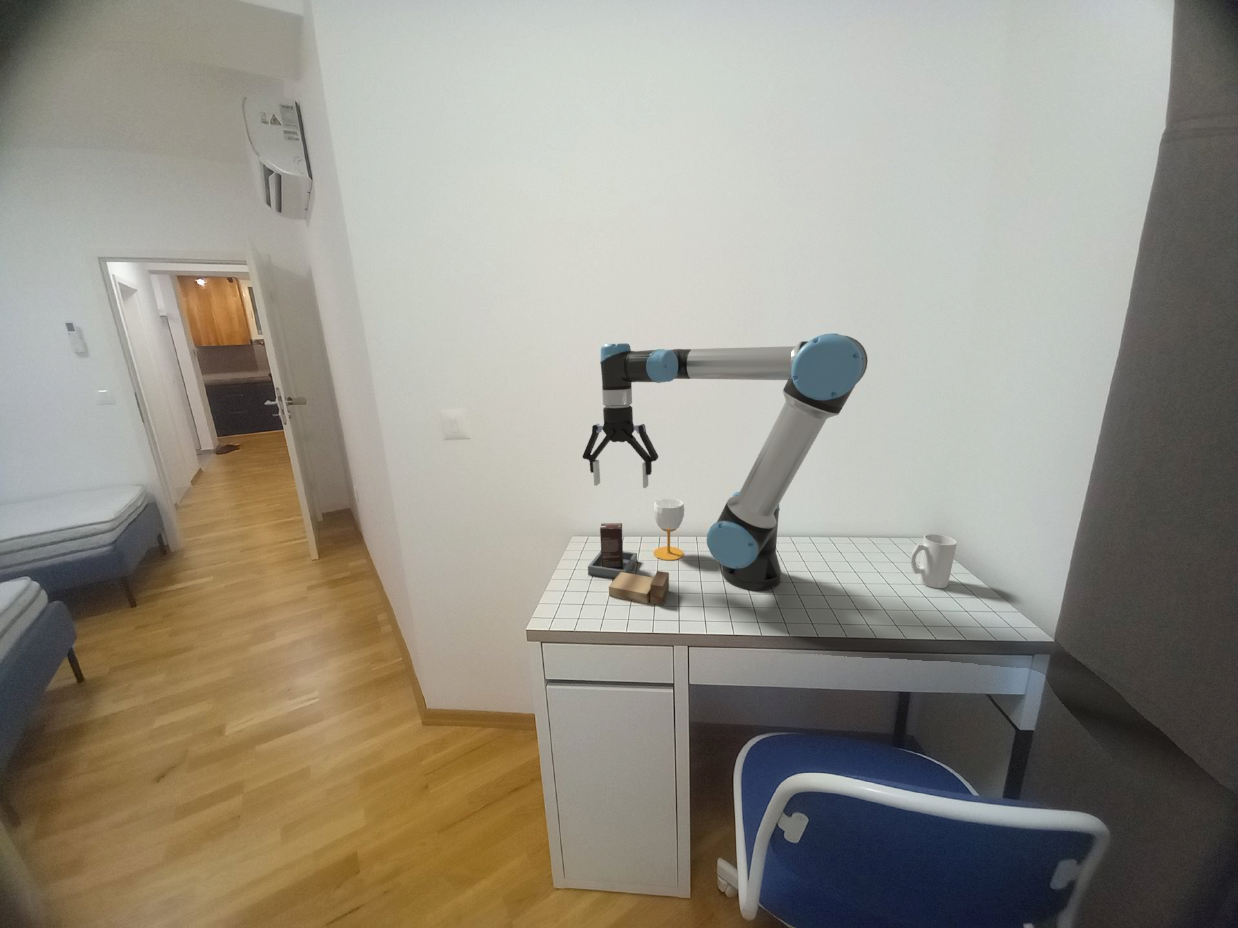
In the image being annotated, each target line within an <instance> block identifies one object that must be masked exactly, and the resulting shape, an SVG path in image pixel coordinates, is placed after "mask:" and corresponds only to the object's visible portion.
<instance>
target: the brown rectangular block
mask: <svg viewBox="0 0 1238 928" xmlns="http://www.w3.org/2000/svg"><path fill="white" fill-rule="evenodd" d="M652 578H653V580H652V582H651V584H650V600H649V601H650V604H655V605H659V606H660V605H661V606H663V605H664V603H665V600H666V598H667V595H668V593H669V590H670V573H669V571H660V570H657V571H656V573H655V575H654V576H653V577H652Z"/></svg>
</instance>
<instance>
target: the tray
mask: <svg viewBox="0 0 1238 928" xmlns="http://www.w3.org/2000/svg"><path fill="white" fill-rule="evenodd" d="M637 562H638V552H632V551H626V550H625V551H624V550H623V568H606V567H602V559H601V550H600V551H599V552H598V554H597V555H596V556H595V557H593V560H592V561H590V563H589V564H588V565H587V575H588V576H593V577H594V576H595V577H601V578H607V579H613V580H615V578H616V577H617V576H618V575H619V574H620V572H624V573H630V574H631V572H632V569H634V567H635V566H636V563H637Z"/></svg>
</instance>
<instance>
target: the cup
mask: <svg viewBox="0 0 1238 928" xmlns="http://www.w3.org/2000/svg"><path fill="white" fill-rule="evenodd" d="M653 505H654V506H653V514H654V518H655V521H656V524H657V526H658V527H659V529H660V530H662V531H663V532H666V536H667V537H666V540H667V541H666V542H667V543H666V544H667V545H666V546H661V547H658V548H655V549H654V551H653V556H654V557H655V558H657V559H659V560H663V561H677V560H680V559H681V558H683V557H684V555H685V553H684V551H683V550H682V549H681V548H678V547H676V546H671V533H673V532H674V531H676V530H677V529H678V528H680V526H681V525H682V522H683V520H684V517H685V506H684V505H685V504H684V502H683V501H682V500H680V499H677V498H672V497H671V498H660V499H657V500H656V501H655V502H654V503H653Z"/></svg>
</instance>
